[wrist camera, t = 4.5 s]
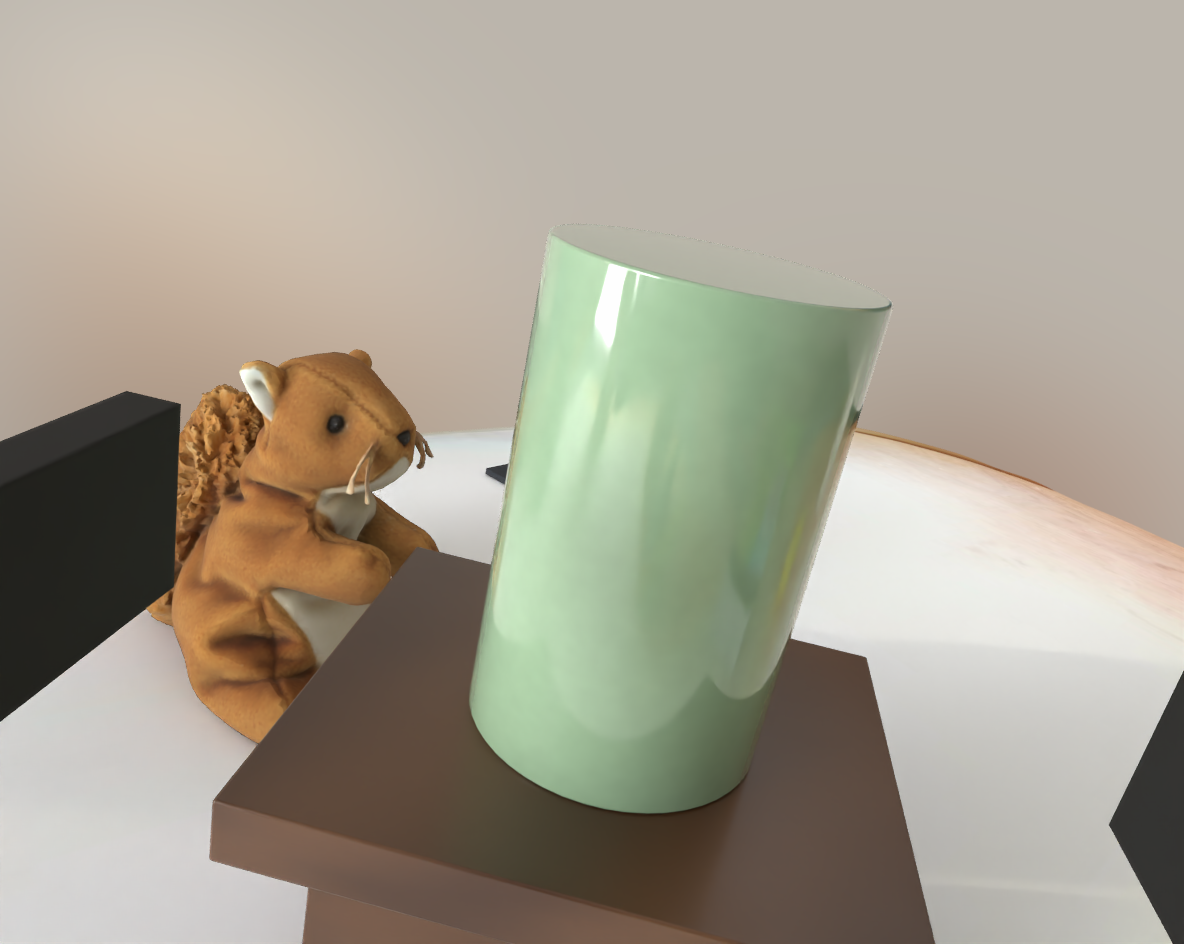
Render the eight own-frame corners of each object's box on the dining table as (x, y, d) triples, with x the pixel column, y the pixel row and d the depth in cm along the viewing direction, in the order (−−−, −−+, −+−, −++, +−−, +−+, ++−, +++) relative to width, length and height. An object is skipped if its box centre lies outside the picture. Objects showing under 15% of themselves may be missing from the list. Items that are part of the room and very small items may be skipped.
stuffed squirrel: (286, 774, 33) (320, 422, 28) (45, 613, 39) (40, 300, 34) (463, 663, 41) (511, 378, 37) (242, 544, 47) (260, 286, 42)
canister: (407, 686, 22) (475, 215, 18) (599, 609, 27) (683, 230, 24) (631, 866, 18) (778, 314, 14) (806, 737, 23) (949, 306, 20)
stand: (190, 1150, 21) (210, 800, 18) (380, 802, 32) (416, 545, 29) (800, 1334, 20) (951, 1001, 17) (779, 909, 31) (866, 656, 28)
